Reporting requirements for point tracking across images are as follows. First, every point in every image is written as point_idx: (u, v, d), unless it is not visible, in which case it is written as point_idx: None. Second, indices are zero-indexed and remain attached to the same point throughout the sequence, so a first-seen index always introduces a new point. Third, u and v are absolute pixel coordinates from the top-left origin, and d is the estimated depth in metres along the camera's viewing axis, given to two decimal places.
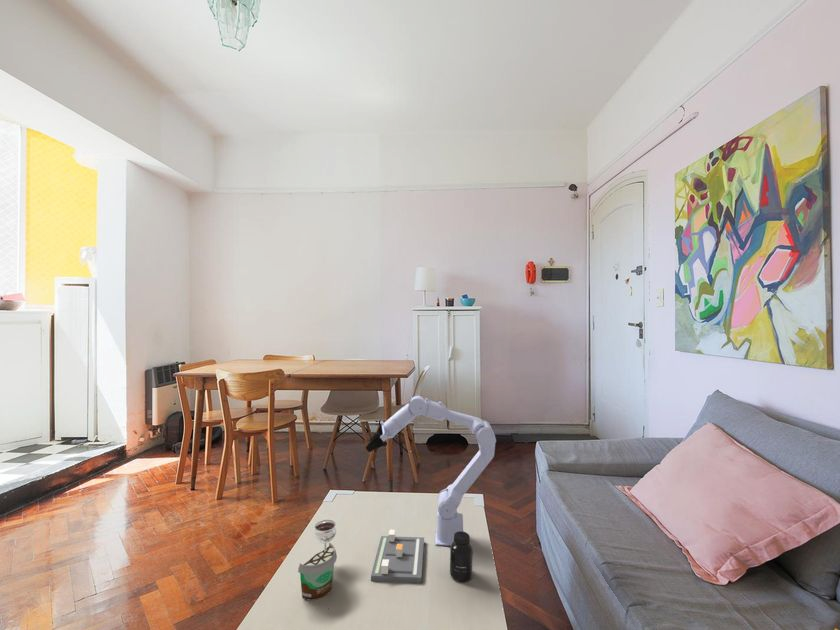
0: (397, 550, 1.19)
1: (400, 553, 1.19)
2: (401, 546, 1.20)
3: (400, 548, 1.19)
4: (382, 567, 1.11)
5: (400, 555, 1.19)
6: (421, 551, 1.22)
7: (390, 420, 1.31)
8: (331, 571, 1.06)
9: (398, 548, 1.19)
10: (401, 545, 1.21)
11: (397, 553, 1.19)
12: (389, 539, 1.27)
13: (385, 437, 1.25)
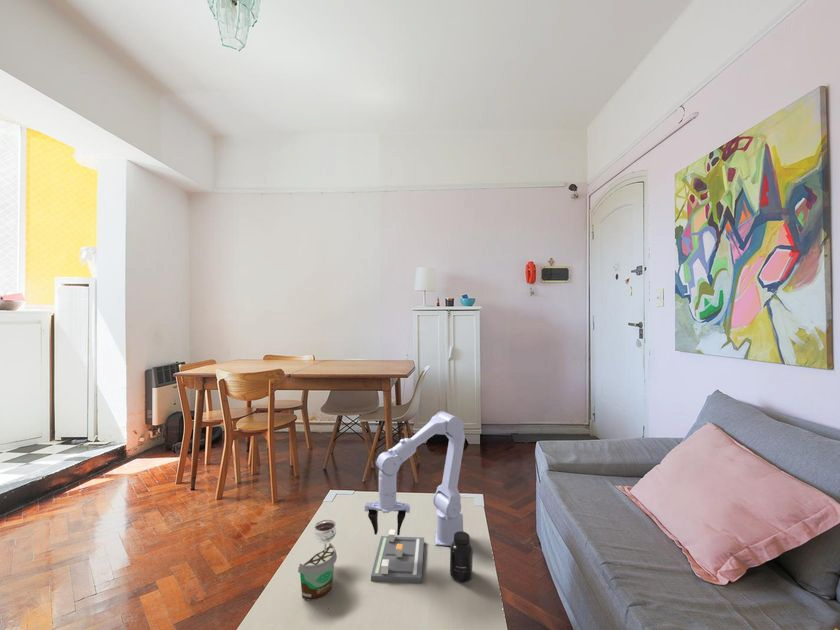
0: (397, 550, 1.19)
1: (400, 553, 1.19)
2: (401, 546, 1.20)
3: (400, 548, 1.19)
4: (382, 567, 1.11)
5: (400, 555, 1.19)
6: (421, 551, 1.22)
7: (391, 499, 1.18)
8: (331, 571, 1.06)
9: (398, 548, 1.19)
10: (401, 545, 1.21)
11: (397, 553, 1.19)
12: (389, 539, 1.27)
13: (409, 506, 1.20)
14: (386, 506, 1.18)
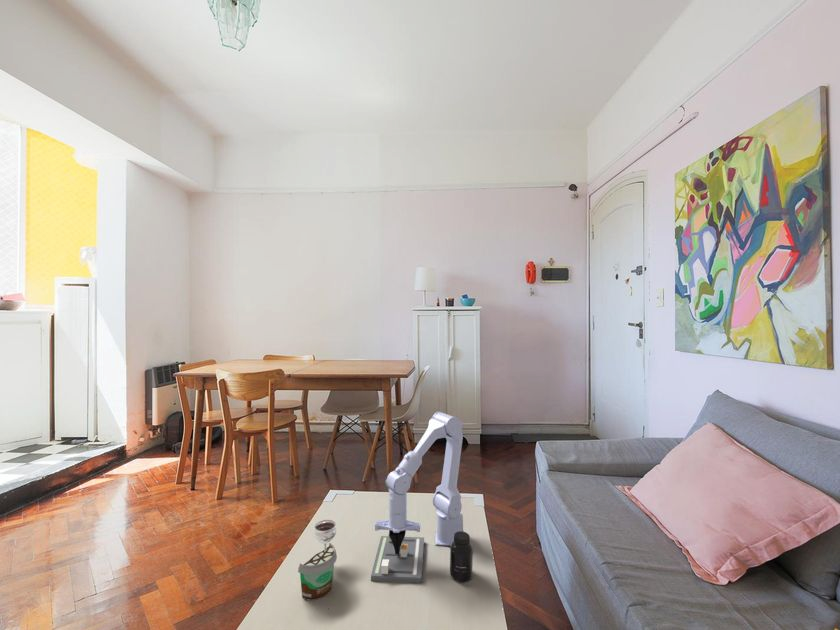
0: (402, 550, 1.19)
1: (405, 553, 1.19)
2: (406, 546, 1.20)
3: (405, 548, 1.19)
4: (382, 567, 1.11)
5: (405, 555, 1.19)
6: (421, 551, 1.22)
7: (402, 518, 1.18)
8: (331, 571, 1.06)
9: (403, 548, 1.19)
10: (406, 545, 1.21)
11: (402, 553, 1.19)
12: (389, 539, 1.27)
13: None
14: (396, 525, 1.17)
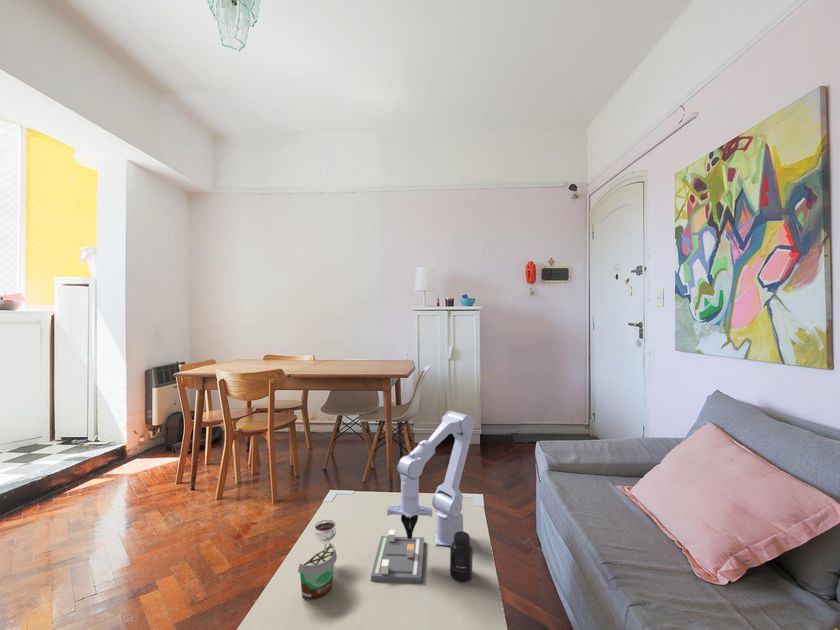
0: (408, 550, 1.19)
1: (411, 553, 1.18)
2: (412, 546, 1.20)
3: (411, 548, 1.19)
4: (382, 567, 1.11)
5: (411, 555, 1.18)
6: (421, 551, 1.22)
7: (414, 503, 1.18)
8: (331, 571, 1.06)
9: (409, 548, 1.19)
10: (412, 545, 1.21)
11: (408, 553, 1.19)
12: (389, 539, 1.27)
13: None
14: (409, 510, 1.17)
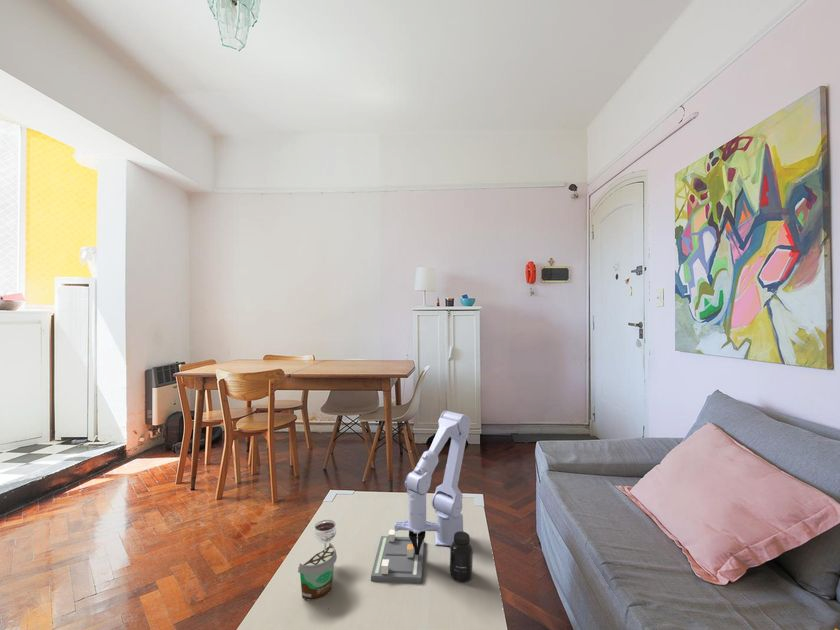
0: (408, 550, 1.19)
1: (411, 553, 1.18)
2: (412, 546, 1.20)
3: (411, 548, 1.19)
4: (382, 567, 1.11)
5: (411, 555, 1.18)
6: (421, 551, 1.22)
7: (422, 518, 1.18)
8: (331, 571, 1.06)
9: (409, 548, 1.19)
10: (412, 545, 1.21)
11: (408, 553, 1.19)
12: (389, 539, 1.27)
13: (439, 525, 1.20)
14: (417, 526, 1.17)
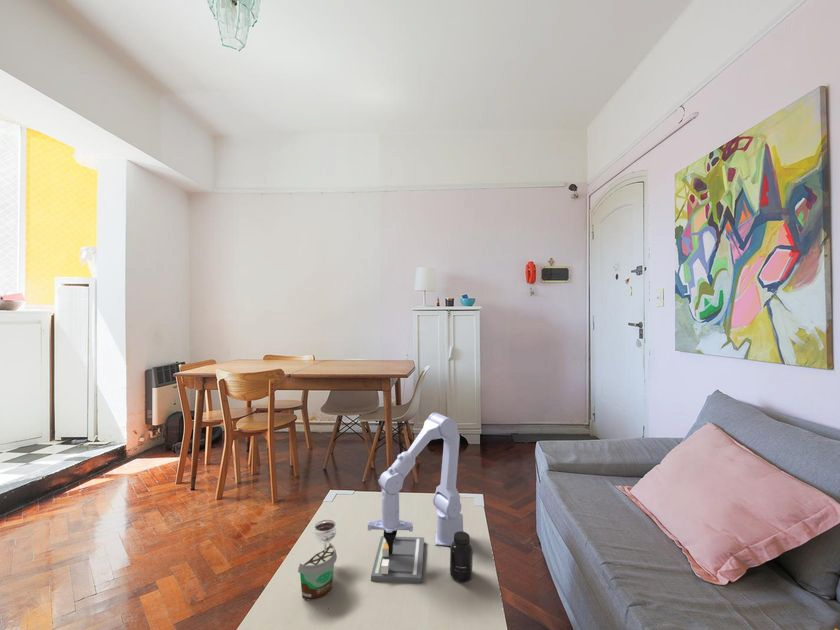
0: (383, 550, 1.19)
1: (386, 553, 1.19)
2: None
3: (386, 548, 1.19)
4: (382, 567, 1.11)
5: (386, 555, 1.19)
6: (421, 551, 1.22)
7: (394, 518, 1.18)
8: (331, 571, 1.06)
9: (384, 548, 1.19)
10: None
11: (383, 553, 1.19)
12: None
13: (412, 525, 1.20)
14: (389, 525, 1.18)
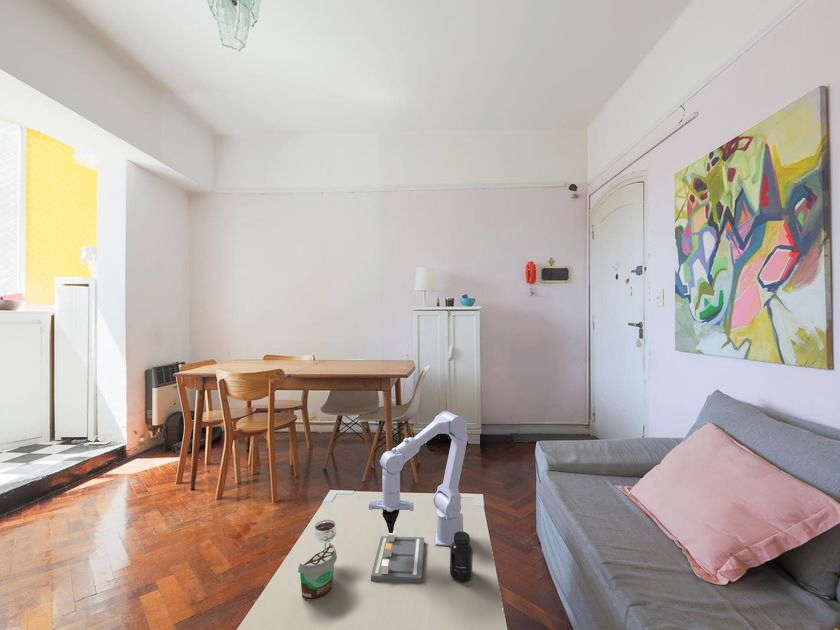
0: (386, 550, 1.19)
1: (389, 553, 1.19)
2: (390, 546, 1.20)
3: (389, 548, 1.19)
4: (382, 567, 1.11)
5: (389, 555, 1.19)
6: (421, 551, 1.22)
7: (395, 497, 1.19)
8: (331, 571, 1.06)
9: (387, 548, 1.19)
10: (390, 545, 1.21)
11: (386, 553, 1.19)
12: (389, 539, 1.27)
13: (413, 504, 1.21)
14: (390, 504, 1.19)
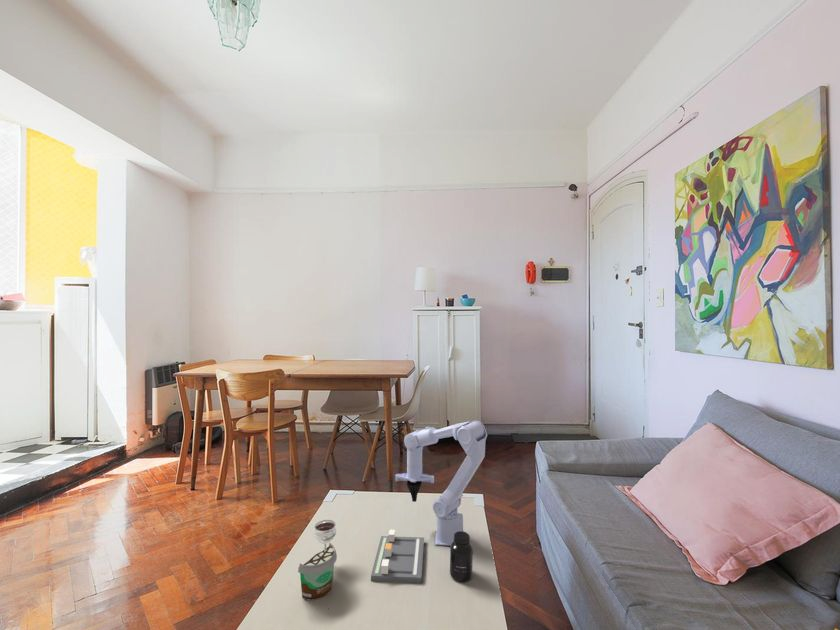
0: (386, 550, 1.19)
1: (389, 553, 1.19)
2: (390, 546, 1.20)
3: (389, 548, 1.19)
4: (382, 567, 1.11)
5: (389, 555, 1.19)
6: (421, 551, 1.22)
7: (418, 470, 1.38)
8: (331, 571, 1.06)
9: (387, 548, 1.19)
10: (390, 545, 1.21)
11: (386, 553, 1.19)
12: (389, 539, 1.27)
13: (433, 477, 1.39)
14: (413, 476, 1.37)
